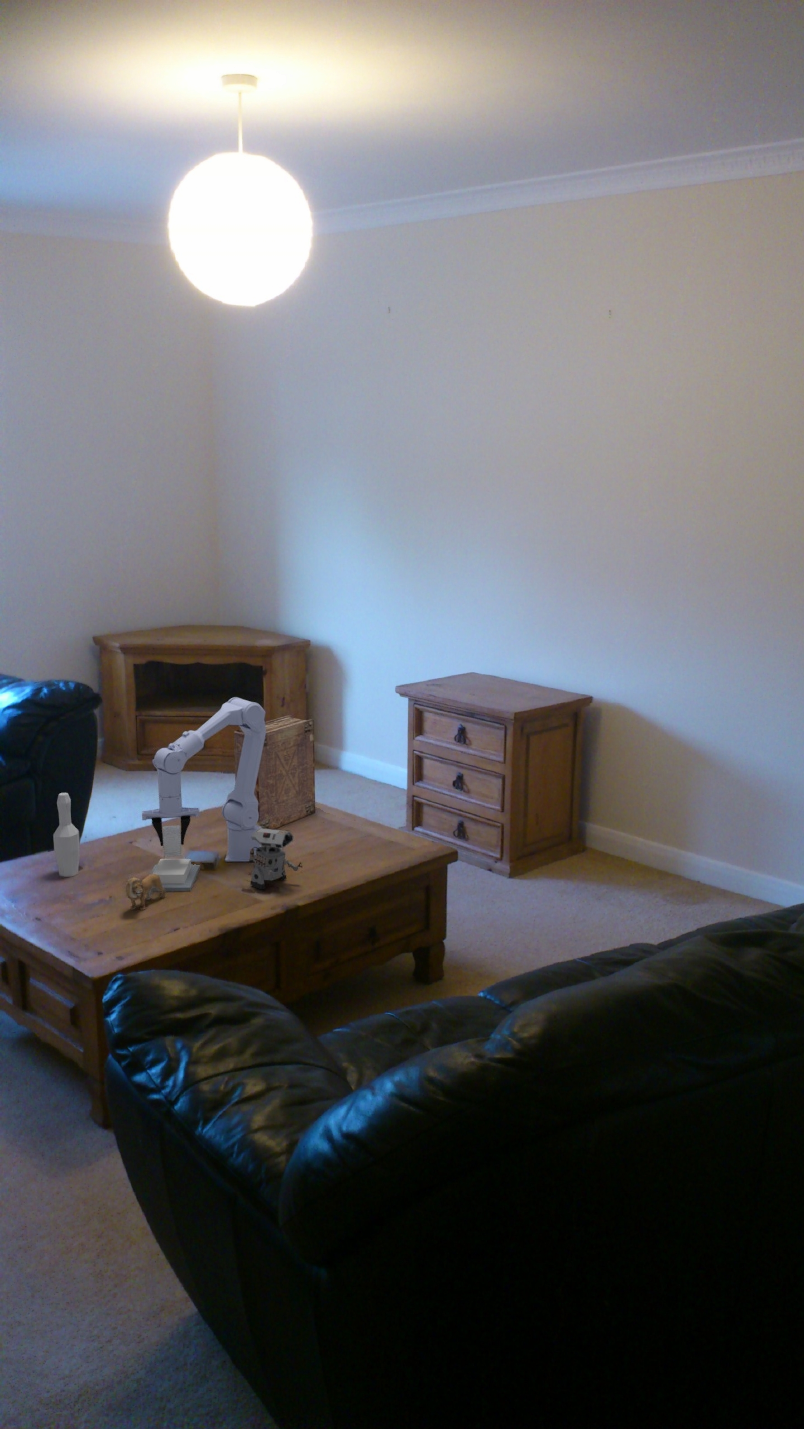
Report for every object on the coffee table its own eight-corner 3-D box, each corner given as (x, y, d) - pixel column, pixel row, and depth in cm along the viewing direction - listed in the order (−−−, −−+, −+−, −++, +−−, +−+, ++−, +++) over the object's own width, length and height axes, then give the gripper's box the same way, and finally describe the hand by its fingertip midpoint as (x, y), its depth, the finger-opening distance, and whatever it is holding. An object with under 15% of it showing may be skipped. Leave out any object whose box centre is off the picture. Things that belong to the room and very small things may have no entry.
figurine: (277, 896, 276) (276, 840, 272) (246, 884, 282) (244, 829, 279) (302, 885, 282) (302, 830, 279) (271, 874, 289) (270, 820, 286)
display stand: (200, 867, 294) (199, 855, 293) (190, 891, 278) (189, 878, 277) (155, 867, 293) (154, 855, 293) (142, 891, 278) (142, 878, 277)
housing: (181, 846, 290) (180, 825, 289) (181, 855, 284) (180, 834, 282) (163, 847, 289) (162, 826, 288) (163, 857, 283) (162, 835, 281)
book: (292, 807, 344) (291, 714, 336) (315, 812, 338) (314, 718, 331) (236, 829, 323) (233, 731, 316) (259, 835, 318) (257, 736, 311)
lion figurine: (141, 917, 263) (139, 882, 261) (121, 914, 264) (119, 879, 262) (170, 894, 276) (168, 860, 274) (151, 891, 278) (149, 858, 276)
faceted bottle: (74, 879, 286) (68, 798, 280) (51, 877, 287) (45, 796, 282) (85, 870, 292) (80, 791, 286) (63, 868, 293) (58, 789, 288)
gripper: (198, 788, 288) (199, 837, 291) (141, 791, 285) (143, 840, 288) (199, 796, 281) (200, 846, 284) (141, 799, 278) (143, 850, 281)
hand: (172, 844), depth 286 cm, fingers closed on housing, 4 cm apart
